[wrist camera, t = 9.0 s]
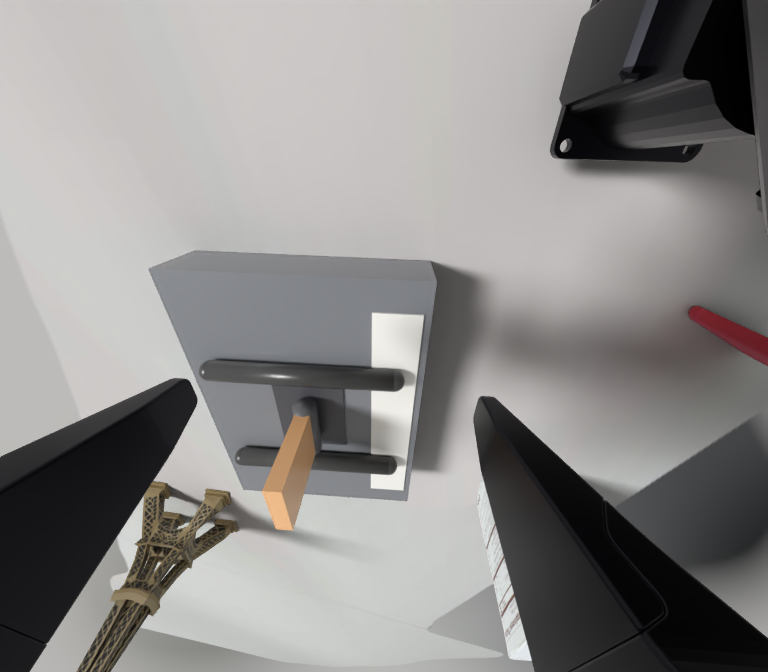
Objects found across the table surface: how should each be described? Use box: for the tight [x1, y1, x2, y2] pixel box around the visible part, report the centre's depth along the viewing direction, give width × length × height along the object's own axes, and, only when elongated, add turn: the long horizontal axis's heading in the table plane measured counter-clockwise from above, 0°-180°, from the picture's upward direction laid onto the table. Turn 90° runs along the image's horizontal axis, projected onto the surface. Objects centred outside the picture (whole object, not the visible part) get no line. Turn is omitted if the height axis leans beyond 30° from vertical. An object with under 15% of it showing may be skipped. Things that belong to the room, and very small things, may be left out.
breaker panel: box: [149, 251, 437, 501], centre depth 22 cm, size 16×22×5 cm
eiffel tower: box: [77, 481, 238, 672], centre depth 27 cm, size 11×11×25 cm
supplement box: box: [477, 476, 532, 661], centre depth 25 cm, size 7×7×13 cm
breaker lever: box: [262, 397, 322, 530], centre depth 18 cm, size 2×4×6 cm, turn 179°
